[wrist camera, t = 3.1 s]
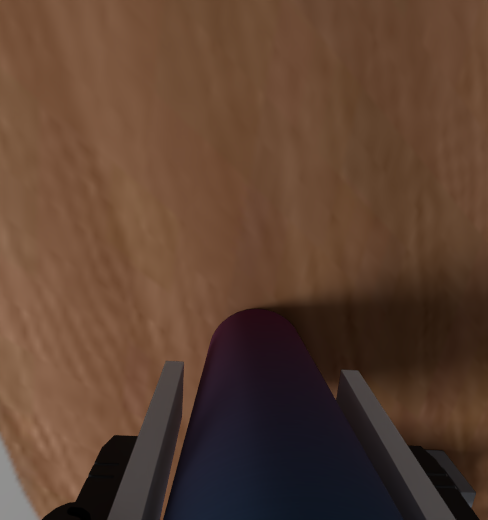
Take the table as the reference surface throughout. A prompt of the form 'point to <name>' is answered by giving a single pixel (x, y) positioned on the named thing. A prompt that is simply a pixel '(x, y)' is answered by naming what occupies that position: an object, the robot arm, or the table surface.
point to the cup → (270, 436)
